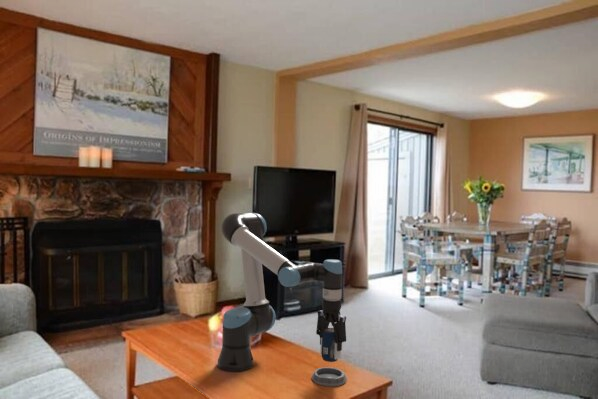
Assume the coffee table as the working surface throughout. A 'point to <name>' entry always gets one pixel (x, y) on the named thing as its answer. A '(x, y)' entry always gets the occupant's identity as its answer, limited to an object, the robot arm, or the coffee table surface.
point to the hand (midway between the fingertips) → (330, 355)
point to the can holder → (329, 377)
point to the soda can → (328, 345)
